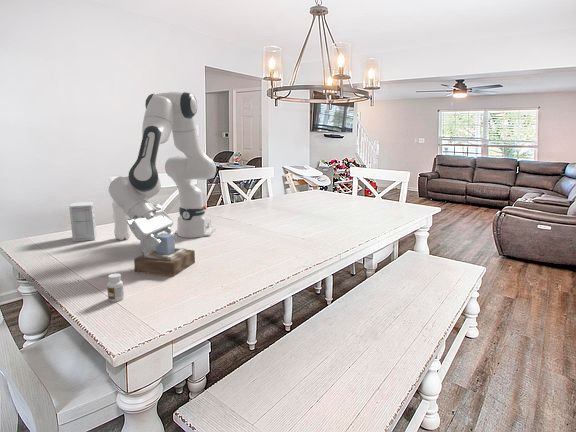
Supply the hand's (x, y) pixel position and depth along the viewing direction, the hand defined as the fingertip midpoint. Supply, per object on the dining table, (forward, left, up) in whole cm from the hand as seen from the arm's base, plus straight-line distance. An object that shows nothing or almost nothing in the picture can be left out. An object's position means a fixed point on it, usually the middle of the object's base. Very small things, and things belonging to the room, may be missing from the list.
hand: (166, 241), depth 144 cm
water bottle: (-28, -41, -11) cm, 50 cm away
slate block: (0, -1, -5) cm, 5 cm away
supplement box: (-23, -58, -11) cm, 63 cm away
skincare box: (-15, -18, -11) cm, 25 cm away
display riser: (0, -1, -10) cm, 10 cm away
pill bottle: (+30, 0, -11) cm, 32 cm away
